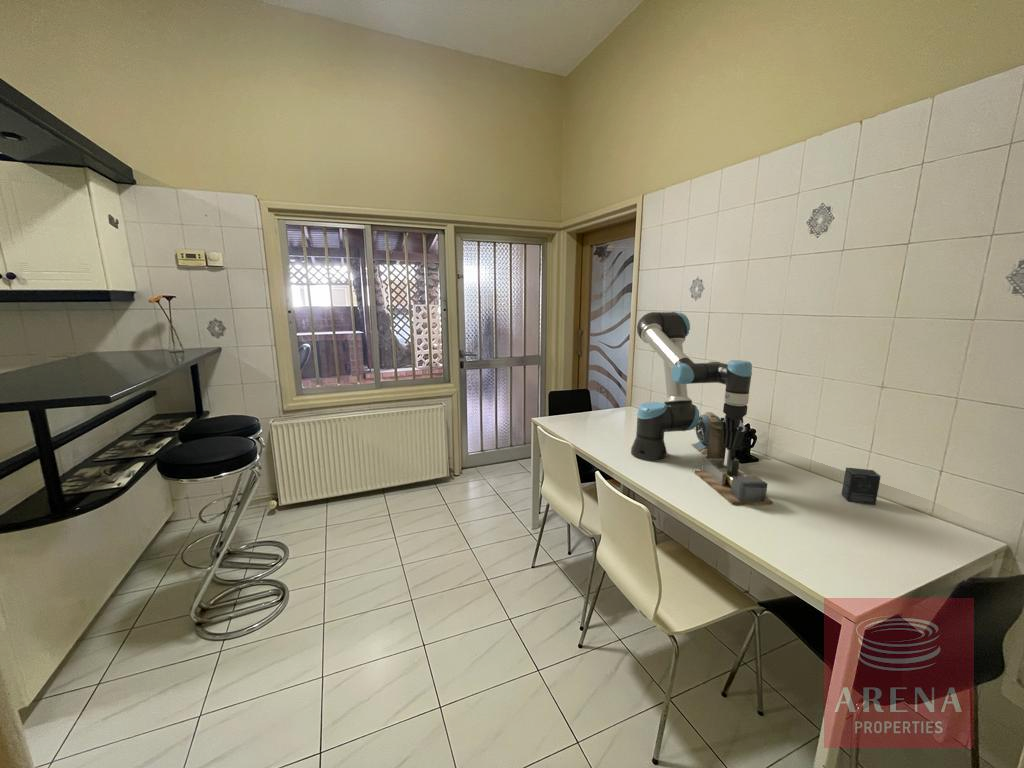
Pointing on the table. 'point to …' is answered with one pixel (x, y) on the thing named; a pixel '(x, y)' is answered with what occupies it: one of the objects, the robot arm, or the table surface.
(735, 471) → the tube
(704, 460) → the grey tilted block
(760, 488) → the socket
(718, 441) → the container
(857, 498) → the box
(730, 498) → the board
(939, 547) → the table surface
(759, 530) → the table surface
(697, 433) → the alarm clock
